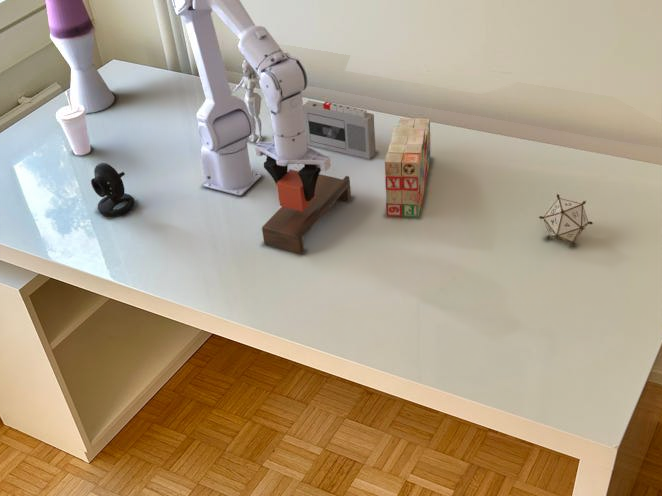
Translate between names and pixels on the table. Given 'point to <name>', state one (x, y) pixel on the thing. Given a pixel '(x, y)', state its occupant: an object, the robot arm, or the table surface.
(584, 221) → the game die
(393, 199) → the stack of blocks
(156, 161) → the table surface
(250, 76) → the human figurine
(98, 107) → the lamp
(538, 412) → the table surface
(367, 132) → the cassette player
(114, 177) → the webcam
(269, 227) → the shelf
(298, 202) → the block
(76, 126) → the smoothie
